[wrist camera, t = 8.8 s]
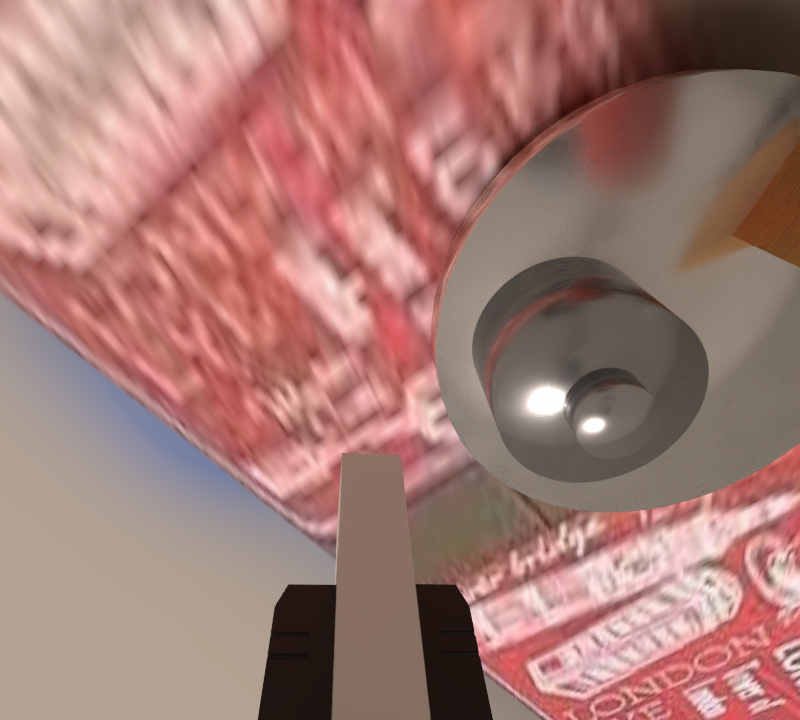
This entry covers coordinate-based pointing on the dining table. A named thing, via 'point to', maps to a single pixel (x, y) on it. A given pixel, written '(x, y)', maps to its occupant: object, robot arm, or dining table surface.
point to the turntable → (653, 266)
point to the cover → (586, 370)
